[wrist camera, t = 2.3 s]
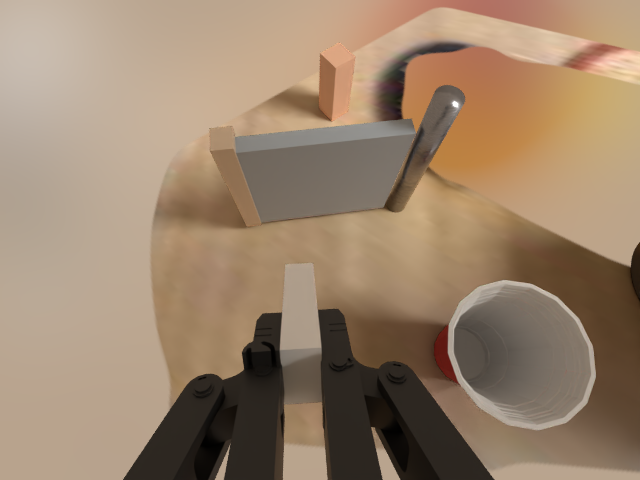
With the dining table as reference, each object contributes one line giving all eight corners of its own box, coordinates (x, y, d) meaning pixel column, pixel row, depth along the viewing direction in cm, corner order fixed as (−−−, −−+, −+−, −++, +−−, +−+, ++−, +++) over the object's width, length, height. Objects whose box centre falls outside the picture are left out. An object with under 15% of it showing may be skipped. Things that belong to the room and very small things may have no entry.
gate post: (407, 200, 43) (469, 92, 26) (400, 215, 42) (459, 113, 25) (390, 192, 43) (440, 81, 26) (383, 207, 42) (429, 102, 25)
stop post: (348, 111, 48) (355, 56, 39) (331, 121, 47) (335, 68, 39) (335, 98, 48) (339, 42, 40) (318, 108, 48) (320, 53, 39)
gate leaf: (380, 194, 42) (413, 107, 28) (383, 209, 41) (420, 128, 27) (245, 210, 41) (209, 128, 27) (246, 226, 40) (209, 150, 26)
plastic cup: (390, 329, 37) (423, 313, 26) (470, 289, 39) (535, 258, 27) (442, 430, 33) (508, 462, 22) (528, 381, 35) (629, 388, 24)
